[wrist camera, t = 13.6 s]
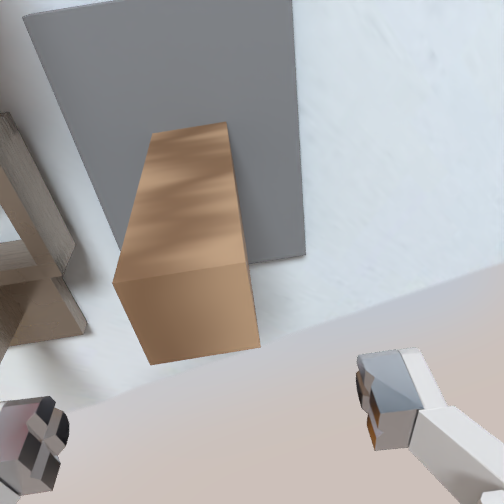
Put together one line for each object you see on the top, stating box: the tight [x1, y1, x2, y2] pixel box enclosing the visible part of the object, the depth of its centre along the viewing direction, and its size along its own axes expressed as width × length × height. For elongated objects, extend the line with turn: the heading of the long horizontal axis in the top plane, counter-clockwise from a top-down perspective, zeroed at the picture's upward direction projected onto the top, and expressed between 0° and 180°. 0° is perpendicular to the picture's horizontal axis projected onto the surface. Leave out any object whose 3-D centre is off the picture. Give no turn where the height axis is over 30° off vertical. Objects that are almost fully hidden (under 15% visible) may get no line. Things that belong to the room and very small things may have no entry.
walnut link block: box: [112, 122, 261, 365], centre depth 18 cm, size 4×4×12 cm
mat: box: [22, 0, 306, 264], centre depth 23 cm, size 12×16×1 cm
